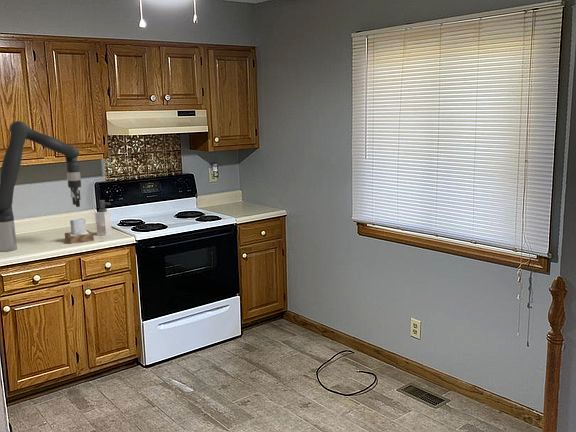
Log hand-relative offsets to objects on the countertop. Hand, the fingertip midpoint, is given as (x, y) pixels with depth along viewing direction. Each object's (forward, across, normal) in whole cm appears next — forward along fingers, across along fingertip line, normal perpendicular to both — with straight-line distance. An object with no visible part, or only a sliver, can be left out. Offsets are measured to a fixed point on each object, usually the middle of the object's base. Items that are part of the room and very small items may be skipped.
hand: (76, 205), depth 353 cm
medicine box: (+18, 0, 0) cm, 18 cm away
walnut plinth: (+22, 0, 0) cm, 22 cm away
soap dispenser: (+22, -6, +18) cm, 29 cm away
